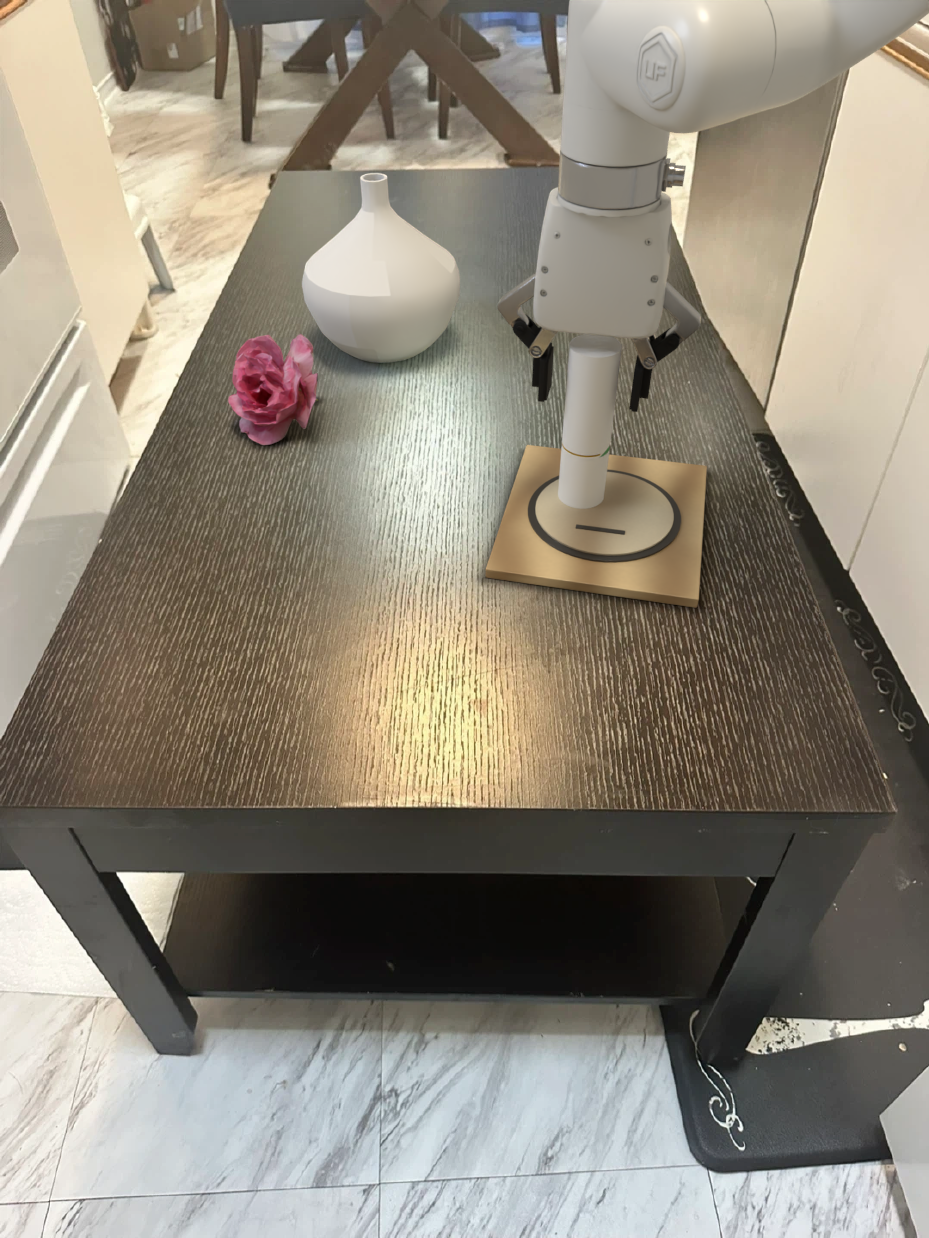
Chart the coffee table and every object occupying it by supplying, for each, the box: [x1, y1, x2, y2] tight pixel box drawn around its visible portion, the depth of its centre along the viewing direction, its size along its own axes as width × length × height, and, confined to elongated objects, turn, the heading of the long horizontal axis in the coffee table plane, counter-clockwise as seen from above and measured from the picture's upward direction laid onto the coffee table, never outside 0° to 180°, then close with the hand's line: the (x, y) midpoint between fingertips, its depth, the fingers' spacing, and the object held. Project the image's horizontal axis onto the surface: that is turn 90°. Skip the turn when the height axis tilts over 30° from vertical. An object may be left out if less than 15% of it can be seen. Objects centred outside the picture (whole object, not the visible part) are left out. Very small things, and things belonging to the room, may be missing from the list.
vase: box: [301, 172, 461, 364], centre depth 102 cm, size 18×18×19 cm
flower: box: [227, 333, 319, 446], centre depth 93 cm, size 11×10×10 cm
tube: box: [558, 334, 623, 509], centre depth 78 cm, size 4×4×15 cm
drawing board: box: [485, 444, 708, 609], centre depth 82 cm, size 18×20×2 cm
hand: (589, 397), depth 76 cm, fingers open, 7 cm apart
